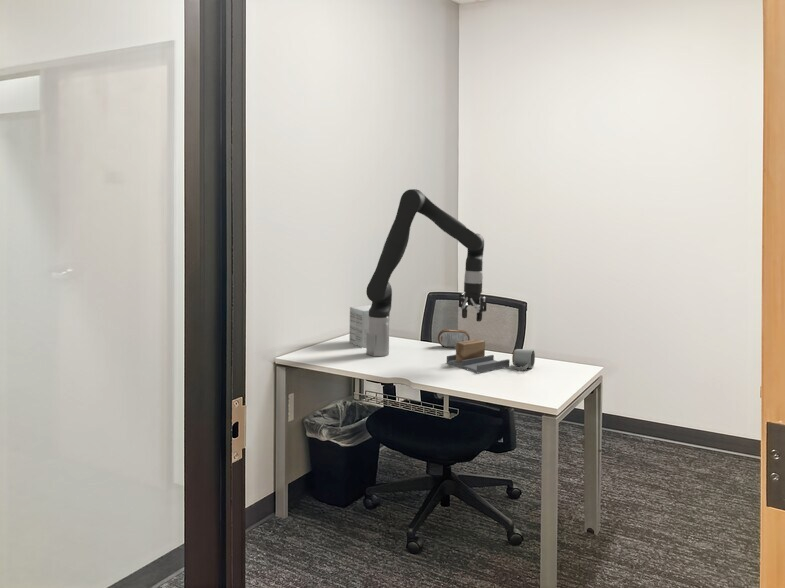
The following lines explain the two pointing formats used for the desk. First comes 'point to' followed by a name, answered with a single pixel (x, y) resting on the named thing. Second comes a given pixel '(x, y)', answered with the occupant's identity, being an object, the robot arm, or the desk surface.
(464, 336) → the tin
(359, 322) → the supplement box
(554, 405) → the desk surface
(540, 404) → the desk surface
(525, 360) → the ceramic mug
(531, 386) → the desk surface
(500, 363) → the rack
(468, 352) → the wooden toy brick
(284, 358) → the desk surface
